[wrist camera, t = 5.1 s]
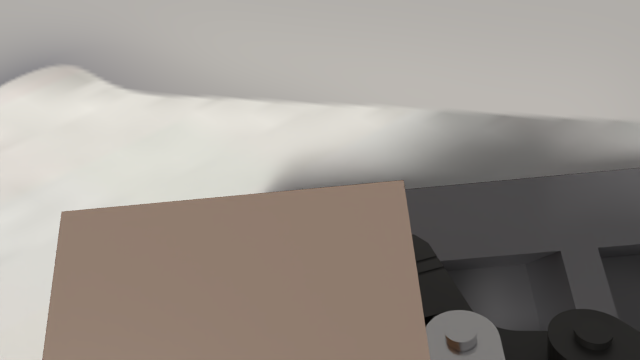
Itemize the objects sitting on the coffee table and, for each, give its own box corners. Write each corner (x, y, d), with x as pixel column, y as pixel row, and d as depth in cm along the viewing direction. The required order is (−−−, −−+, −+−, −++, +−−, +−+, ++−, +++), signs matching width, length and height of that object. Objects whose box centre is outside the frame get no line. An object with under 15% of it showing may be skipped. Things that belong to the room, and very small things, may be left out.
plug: (365, 287, 17) (403, 180, 5) (377, 399, 16) (471, 635, 4) (266, 296, 17) (61, 212, 5) (269, 406, 16) (3, 659, 4)
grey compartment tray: (680, 188, 18) (753, 157, 15) (784, 464, 15) (909, 504, 11) (229, 229, 19) (204, 207, 16) (231, 500, 15) (198, 546, 12)
